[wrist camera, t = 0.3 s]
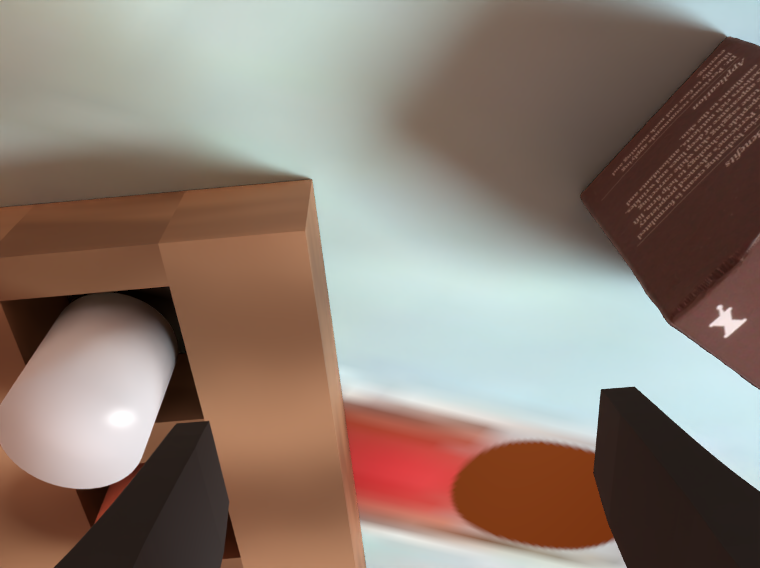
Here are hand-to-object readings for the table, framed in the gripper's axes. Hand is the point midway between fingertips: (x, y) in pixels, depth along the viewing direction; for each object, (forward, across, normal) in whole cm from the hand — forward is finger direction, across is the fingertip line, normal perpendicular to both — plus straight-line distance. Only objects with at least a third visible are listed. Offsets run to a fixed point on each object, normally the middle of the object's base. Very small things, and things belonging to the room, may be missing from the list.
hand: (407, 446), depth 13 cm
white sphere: (+7, +8, +2) cm, 11 cm away
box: (+10, -10, -1) cm, 14 cm away
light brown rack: (+10, +8, +8) cm, 15 cm away
